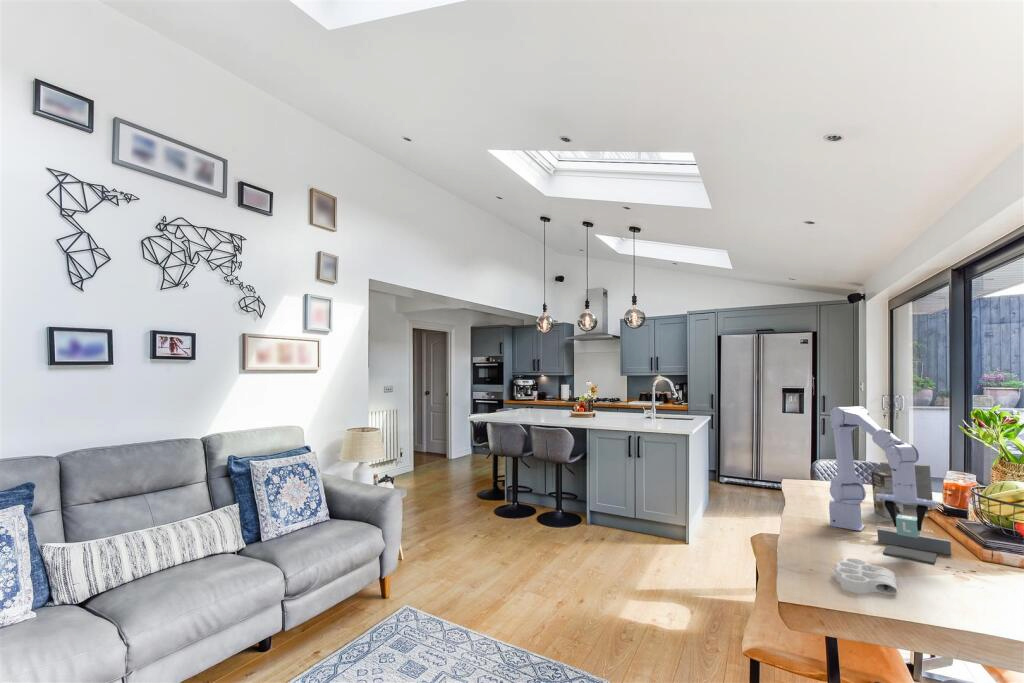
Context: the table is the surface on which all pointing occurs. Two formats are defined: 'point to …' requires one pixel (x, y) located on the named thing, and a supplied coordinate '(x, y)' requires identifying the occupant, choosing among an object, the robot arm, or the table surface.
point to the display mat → (910, 554)
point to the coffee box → (883, 492)
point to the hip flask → (917, 481)
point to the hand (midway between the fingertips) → (907, 528)
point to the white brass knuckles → (864, 577)
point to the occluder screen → (915, 541)
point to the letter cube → (907, 526)
